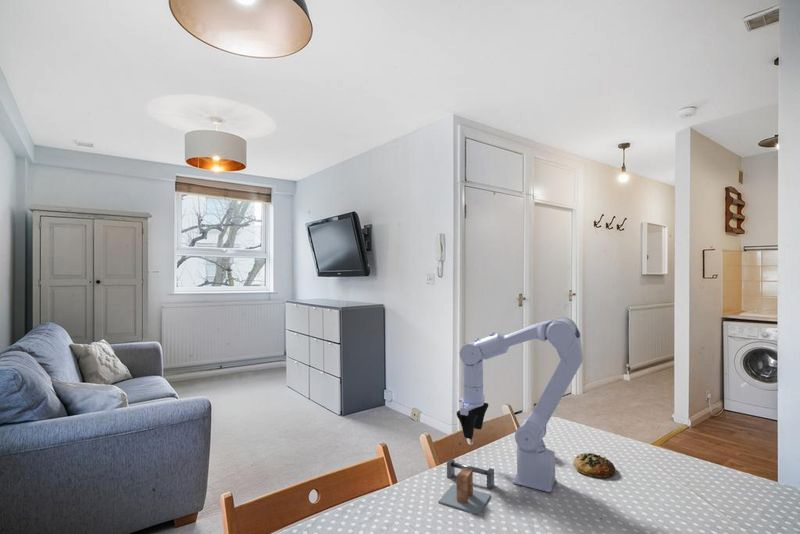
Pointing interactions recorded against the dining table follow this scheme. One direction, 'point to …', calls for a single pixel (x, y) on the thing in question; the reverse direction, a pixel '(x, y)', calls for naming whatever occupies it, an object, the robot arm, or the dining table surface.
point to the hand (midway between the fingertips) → (473, 433)
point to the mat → (473, 504)
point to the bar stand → (452, 465)
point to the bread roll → (594, 465)
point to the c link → (464, 485)
